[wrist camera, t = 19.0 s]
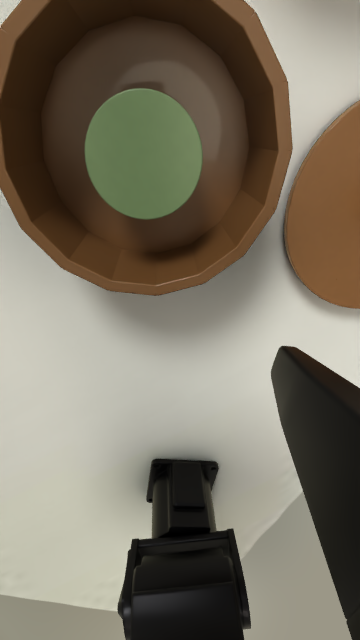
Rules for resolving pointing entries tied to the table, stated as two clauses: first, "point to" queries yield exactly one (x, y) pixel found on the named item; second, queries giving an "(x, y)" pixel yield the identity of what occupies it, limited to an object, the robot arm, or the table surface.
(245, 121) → the brown shallow round container
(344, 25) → the table surface
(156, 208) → the candle
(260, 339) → the table surface
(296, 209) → the wooden lid
